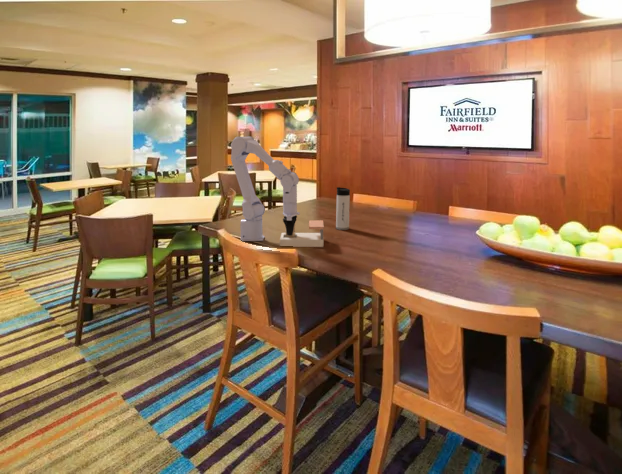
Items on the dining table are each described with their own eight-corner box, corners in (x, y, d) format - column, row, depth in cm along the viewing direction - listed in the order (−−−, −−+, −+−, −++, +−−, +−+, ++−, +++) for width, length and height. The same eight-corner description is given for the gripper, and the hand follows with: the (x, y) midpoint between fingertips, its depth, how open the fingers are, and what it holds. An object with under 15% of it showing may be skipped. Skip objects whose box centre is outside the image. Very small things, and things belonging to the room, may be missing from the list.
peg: (285, 241, 180) (285, 223, 178) (285, 239, 184) (285, 221, 182) (294, 241, 180) (294, 223, 178) (295, 239, 184) (295, 221, 182)
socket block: (279, 246, 176) (279, 226, 173) (281, 239, 188) (281, 220, 186) (323, 247, 175) (323, 226, 173) (322, 239, 188) (322, 220, 186)
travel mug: (340, 226, 213) (341, 186, 208) (351, 228, 209) (352, 187, 204) (332, 228, 209) (333, 187, 204) (344, 230, 205) (345, 189, 200)
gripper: (299, 205, 171) (299, 238, 174) (300, 199, 185) (300, 230, 188) (281, 205, 171) (281, 238, 174) (283, 199, 185) (284, 229, 188)
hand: (290, 233), depth 181 cm, fingers closed on peg, 4 cm apart
